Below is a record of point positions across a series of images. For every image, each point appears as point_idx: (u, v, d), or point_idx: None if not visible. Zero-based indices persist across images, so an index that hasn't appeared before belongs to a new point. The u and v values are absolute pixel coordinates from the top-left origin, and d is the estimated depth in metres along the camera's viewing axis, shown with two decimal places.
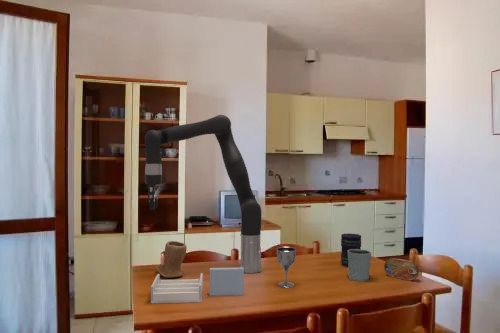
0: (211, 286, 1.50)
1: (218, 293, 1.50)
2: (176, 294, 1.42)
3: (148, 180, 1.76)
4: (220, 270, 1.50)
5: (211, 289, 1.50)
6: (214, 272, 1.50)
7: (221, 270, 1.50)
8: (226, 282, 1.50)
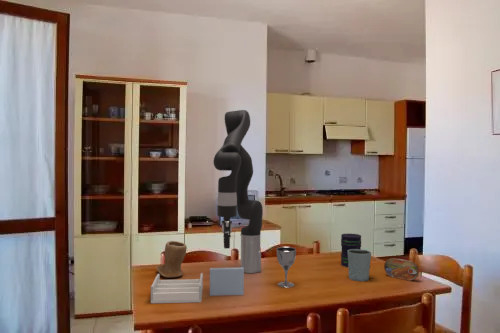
0: (211, 286, 1.50)
1: (218, 293, 1.50)
2: (176, 294, 1.42)
3: (222, 212, 1.48)
4: (220, 270, 1.50)
5: (211, 289, 1.50)
6: (214, 272, 1.50)
7: (221, 270, 1.50)
8: (226, 282, 1.50)
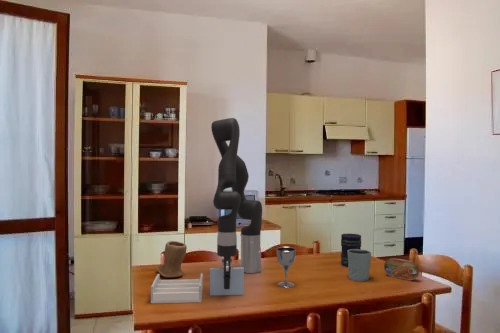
0: (211, 286, 1.50)
1: (218, 293, 1.50)
2: (176, 294, 1.42)
3: (222, 252, 1.48)
4: (220, 270, 1.50)
5: (211, 289, 1.50)
6: (214, 271, 1.50)
7: (221, 270, 1.50)
8: None
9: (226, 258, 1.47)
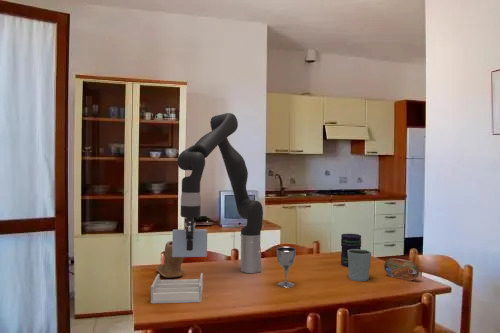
0: (174, 247, 1.48)
1: (181, 254, 1.48)
2: (176, 294, 1.42)
3: (185, 212, 1.46)
4: (183, 231, 1.48)
5: (174, 250, 1.48)
6: (177, 233, 1.48)
7: (184, 231, 1.48)
8: None
9: (189, 218, 1.46)
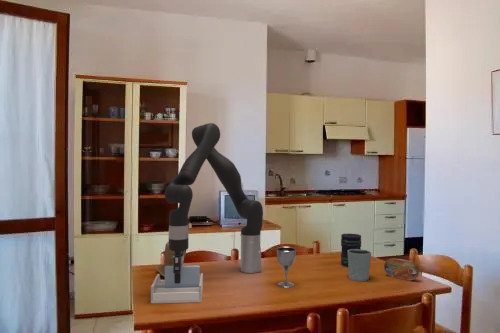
0: (166, 284, 1.48)
1: None
2: (176, 294, 1.42)
3: (172, 246, 1.46)
4: None
5: (166, 287, 1.48)
6: (169, 269, 1.48)
7: (176, 268, 1.48)
8: (181, 280, 1.49)
9: (176, 252, 1.46)
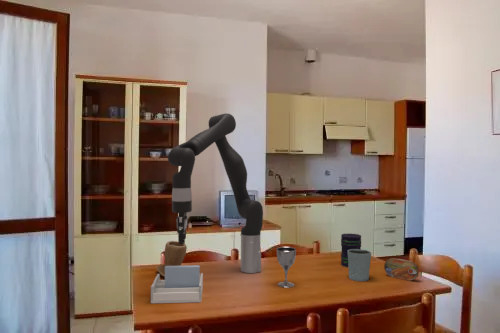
0: (166, 284, 1.48)
1: None
2: (176, 294, 1.42)
3: (176, 208, 1.48)
4: (175, 268, 1.48)
5: (166, 287, 1.48)
6: (169, 269, 1.48)
7: (176, 268, 1.48)
8: (181, 280, 1.49)
9: (180, 214, 1.48)
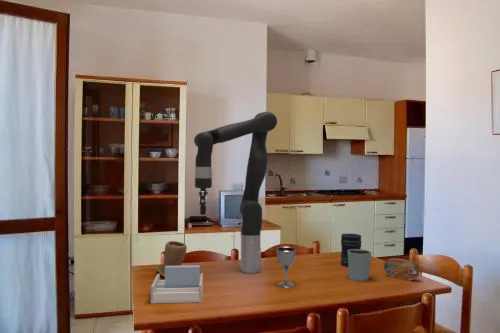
0: (166, 284, 1.48)
1: None
2: (176, 294, 1.42)
3: (199, 184, 1.71)
4: (175, 268, 1.48)
5: (166, 287, 1.48)
6: (169, 269, 1.48)
7: (176, 268, 1.48)
8: (181, 280, 1.49)
9: (202, 189, 1.70)
